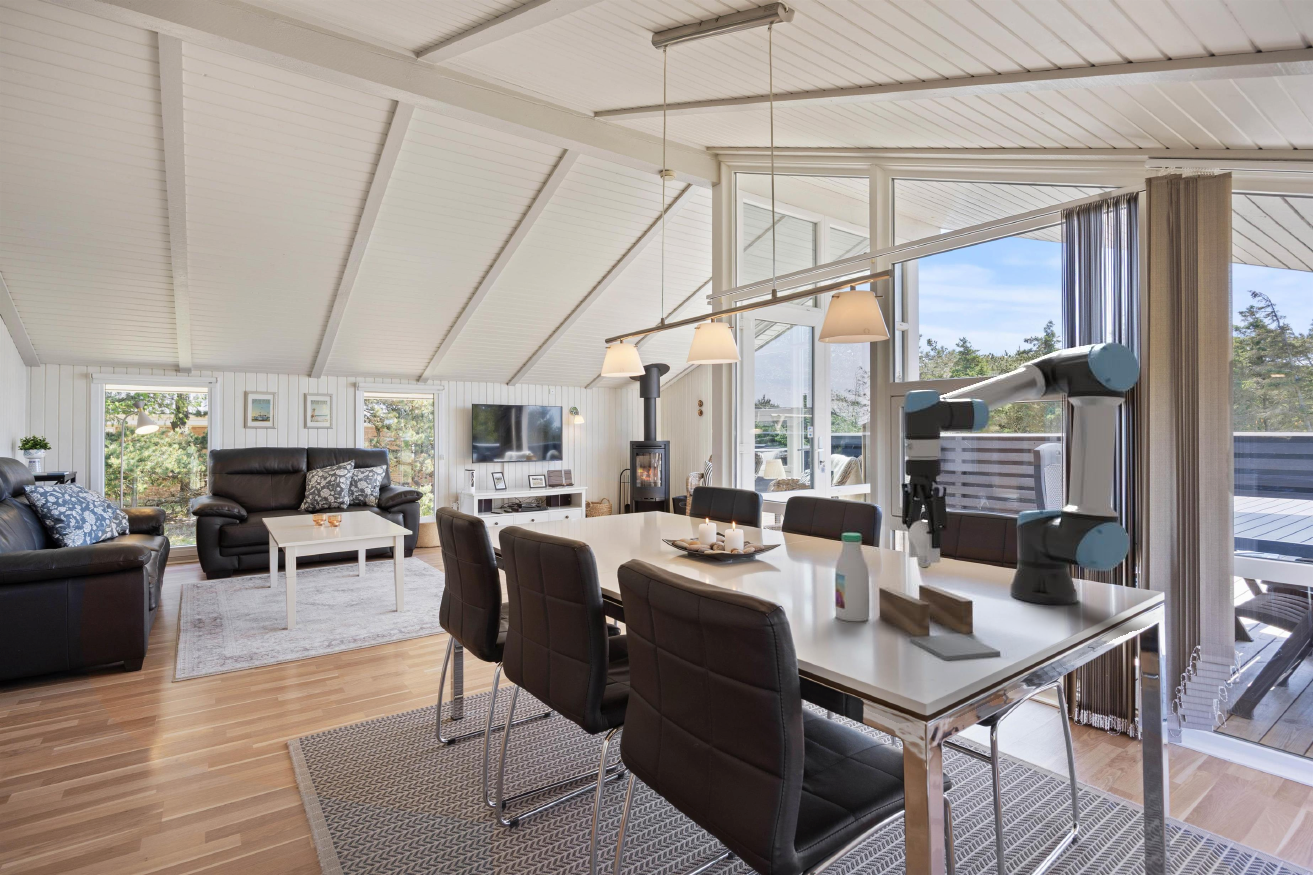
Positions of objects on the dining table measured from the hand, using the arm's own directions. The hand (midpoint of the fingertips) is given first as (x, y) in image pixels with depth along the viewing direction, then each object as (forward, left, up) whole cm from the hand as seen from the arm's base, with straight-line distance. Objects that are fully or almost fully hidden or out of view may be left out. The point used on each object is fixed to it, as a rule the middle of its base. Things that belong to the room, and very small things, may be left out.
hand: (924, 559), depth 151 cm
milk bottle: (+13, -9, -15) cm, 22 cm away
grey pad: (+4, +16, -15) cm, 22 cm away
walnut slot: (0, 0, -15) cm, 15 cm away
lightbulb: (0, 0, -2) cm, 2 cm away
